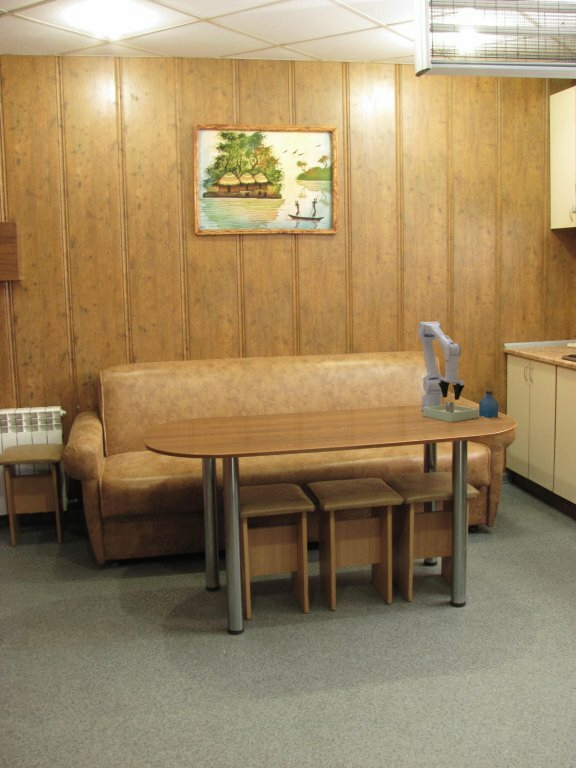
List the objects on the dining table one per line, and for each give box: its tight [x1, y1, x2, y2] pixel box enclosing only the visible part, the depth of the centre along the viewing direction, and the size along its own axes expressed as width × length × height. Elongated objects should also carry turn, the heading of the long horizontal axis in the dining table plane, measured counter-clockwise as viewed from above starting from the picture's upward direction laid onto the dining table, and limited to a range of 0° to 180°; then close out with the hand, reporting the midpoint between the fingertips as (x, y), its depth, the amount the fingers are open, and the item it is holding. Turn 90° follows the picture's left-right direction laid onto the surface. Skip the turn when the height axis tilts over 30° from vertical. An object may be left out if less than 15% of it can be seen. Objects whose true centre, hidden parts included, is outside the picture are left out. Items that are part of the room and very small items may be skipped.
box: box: [422, 404, 479, 423], centre depth 379 cm, size 18×18×4 cm
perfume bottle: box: [478, 390, 499, 419], centre depth 380 cm, size 6×6×12 cm
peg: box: [445, 401, 455, 413], centre depth 378 cm, size 4×4×7 cm
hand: (450, 398), depth 378 cm, fingers open, 7 cm apart
